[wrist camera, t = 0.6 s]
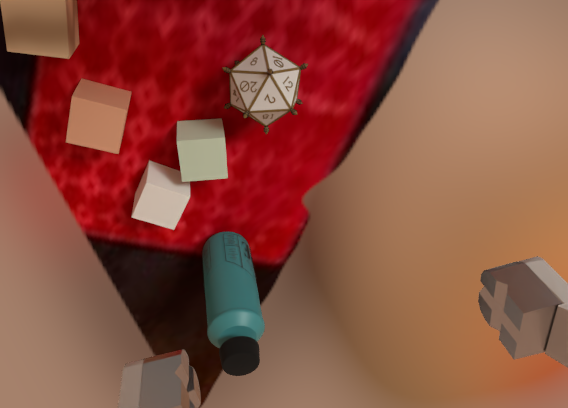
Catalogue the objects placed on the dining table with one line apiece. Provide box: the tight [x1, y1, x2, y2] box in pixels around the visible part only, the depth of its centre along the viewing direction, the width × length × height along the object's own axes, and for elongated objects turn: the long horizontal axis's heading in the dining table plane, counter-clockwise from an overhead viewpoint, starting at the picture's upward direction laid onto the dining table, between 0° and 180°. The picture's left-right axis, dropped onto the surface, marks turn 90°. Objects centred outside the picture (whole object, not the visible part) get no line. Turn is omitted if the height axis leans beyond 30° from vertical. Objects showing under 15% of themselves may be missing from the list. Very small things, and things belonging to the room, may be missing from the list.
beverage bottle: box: [201, 232, 265, 376], centre depth 54 cm, size 6×7×20 cm
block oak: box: [0, 0, 79, 59], centre depth 41 cm, size 5×5×5 cm
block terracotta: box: [66, 78, 132, 154], centre depth 47 cm, size 5×5×5 cm
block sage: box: [177, 118, 228, 182], centre depth 51 cm, size 5×5×5 cm
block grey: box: [132, 160, 190, 230], centre depth 54 cm, size 5×5×5 cm
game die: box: [222, 35, 308, 134], centre depth 47 cm, size 9×8×10 cm
